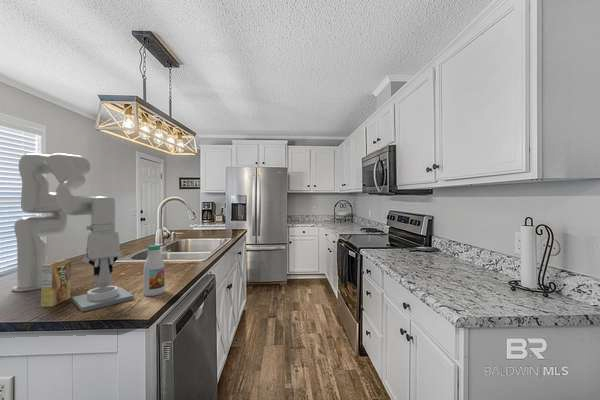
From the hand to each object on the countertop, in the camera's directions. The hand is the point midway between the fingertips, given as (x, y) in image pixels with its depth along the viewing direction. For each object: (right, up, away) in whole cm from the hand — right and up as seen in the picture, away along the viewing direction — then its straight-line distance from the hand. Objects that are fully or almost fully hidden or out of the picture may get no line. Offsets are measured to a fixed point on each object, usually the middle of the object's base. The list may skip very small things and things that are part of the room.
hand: (103, 275), depth 105 cm
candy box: (-16, -10, -2) cm, 19 cm away
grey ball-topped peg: (0, -4, 0) cm, 4 cm away
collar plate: (0, -10, 0) cm, 10 cm away
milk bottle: (+16, -10, +8) cm, 20 cm away
